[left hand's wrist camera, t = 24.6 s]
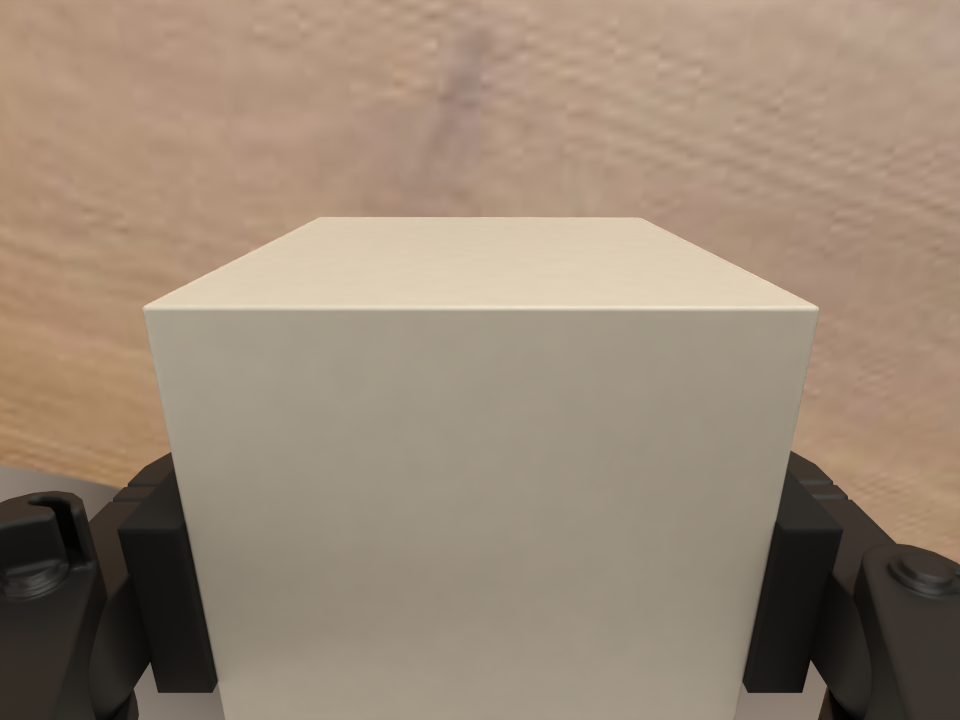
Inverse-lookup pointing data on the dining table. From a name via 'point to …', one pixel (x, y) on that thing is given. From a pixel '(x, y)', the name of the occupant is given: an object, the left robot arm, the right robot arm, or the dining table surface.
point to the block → (480, 467)
